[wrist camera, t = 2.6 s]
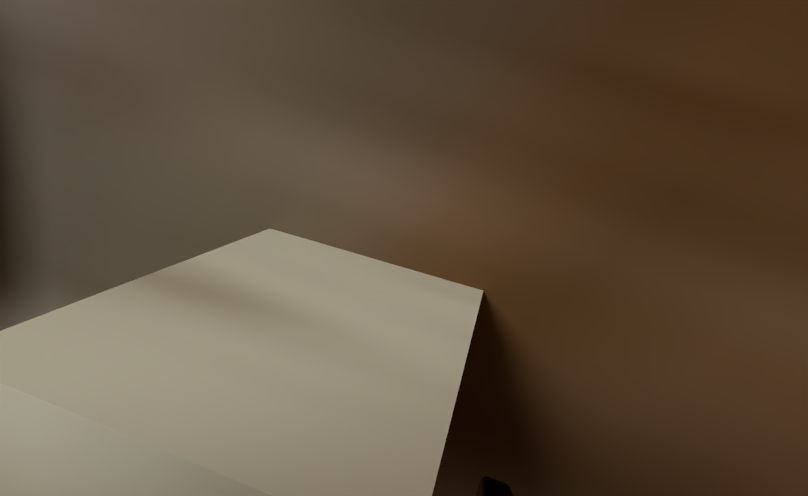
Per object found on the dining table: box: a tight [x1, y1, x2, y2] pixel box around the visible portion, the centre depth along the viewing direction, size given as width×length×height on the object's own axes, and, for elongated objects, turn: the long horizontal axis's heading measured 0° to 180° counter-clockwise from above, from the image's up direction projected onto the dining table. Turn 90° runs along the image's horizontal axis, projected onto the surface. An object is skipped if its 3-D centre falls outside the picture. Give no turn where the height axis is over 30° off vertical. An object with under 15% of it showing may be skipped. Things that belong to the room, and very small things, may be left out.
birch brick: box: [0, 229, 483, 496], centre depth 6 cm, size 6×4×5 cm, turn 168°
